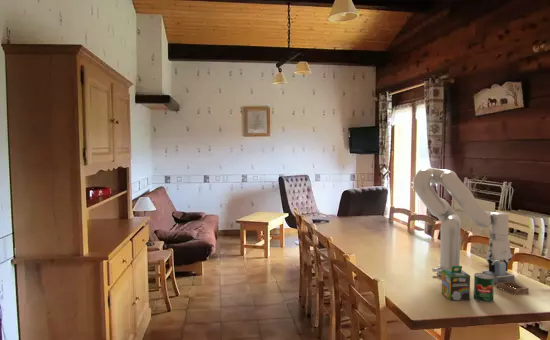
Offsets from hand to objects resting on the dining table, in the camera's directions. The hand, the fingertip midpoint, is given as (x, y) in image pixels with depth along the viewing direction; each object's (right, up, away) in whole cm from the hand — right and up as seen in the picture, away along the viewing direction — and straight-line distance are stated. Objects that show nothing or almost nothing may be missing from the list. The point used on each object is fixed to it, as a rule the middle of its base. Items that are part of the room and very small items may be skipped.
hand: (498, 270), depth 201 cm
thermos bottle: (+9, -4, +18) cm, 21 cm away
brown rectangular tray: (0, -6, -12) cm, 13 cm away
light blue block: (0, -5, 0) cm, 5 cm away
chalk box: (-31, -7, -20) cm, 37 cm away
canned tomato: (-20, -7, -23) cm, 31 cm away
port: (0, -5, 0) cm, 5 cm away
